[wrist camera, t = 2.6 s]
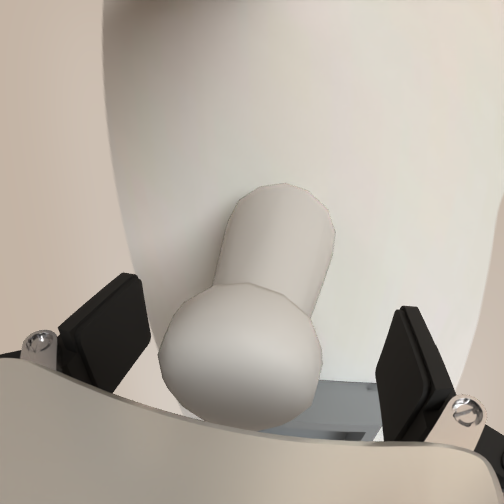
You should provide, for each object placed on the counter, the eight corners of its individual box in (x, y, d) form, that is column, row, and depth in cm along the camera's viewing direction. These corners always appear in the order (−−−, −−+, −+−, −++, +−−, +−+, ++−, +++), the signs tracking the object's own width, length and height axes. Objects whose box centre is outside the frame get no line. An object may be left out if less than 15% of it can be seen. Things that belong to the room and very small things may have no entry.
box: (236, 369, 24) (223, 410, 20) (377, 383, 22) (382, 425, 18) (238, 438, 29) (228, 470, 25) (344, 449, 27) (343, 482, 23)
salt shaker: (327, 171, 16) (361, 288, 5) (336, 262, 18) (349, 455, 7) (229, 183, 18) (85, 300, 6) (246, 269, 20) (167, 442, 8)
